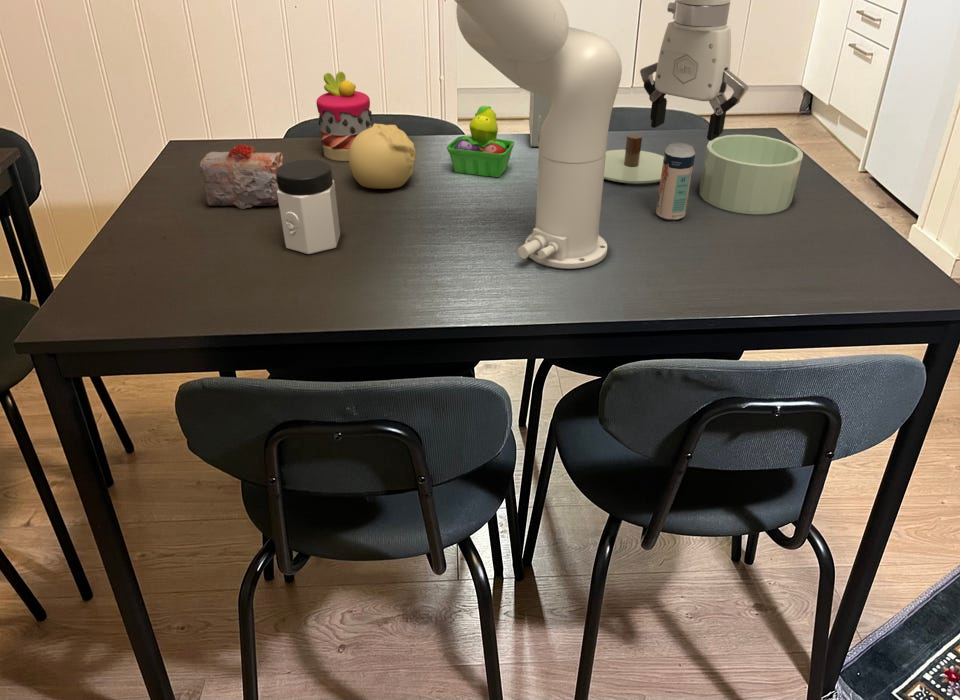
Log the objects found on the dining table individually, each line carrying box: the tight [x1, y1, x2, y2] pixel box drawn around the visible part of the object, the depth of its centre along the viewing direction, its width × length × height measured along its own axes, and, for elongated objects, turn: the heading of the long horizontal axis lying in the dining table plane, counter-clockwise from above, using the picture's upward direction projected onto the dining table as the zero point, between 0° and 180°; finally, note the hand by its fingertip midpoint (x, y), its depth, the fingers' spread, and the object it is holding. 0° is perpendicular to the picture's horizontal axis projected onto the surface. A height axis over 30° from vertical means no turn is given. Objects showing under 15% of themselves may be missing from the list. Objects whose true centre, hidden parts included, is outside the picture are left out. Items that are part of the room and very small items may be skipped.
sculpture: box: [348, 123, 417, 190], centre depth 136 cm, size 12×12×11 cm
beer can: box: [655, 141, 696, 221], centre depth 123 cm, size 5×5×12 cm
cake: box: [315, 71, 373, 162], centre depth 148 cm, size 10×10×15 cm
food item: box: [199, 143, 284, 210], centre depth 129 cm, size 14×8×10 cm, turn 91°
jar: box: [276, 159, 341, 255], centre depth 115 cm, size 9×8×12 cm
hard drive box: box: [528, 92, 552, 147], centre depth 155 cm, size 16×8×20 cm, turn 179°
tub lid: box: [604, 133, 664, 185], centre depth 142 cm, size 17×17×7 cm
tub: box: [698, 134, 804, 215], centre depth 131 cm, size 16×16×8 cm
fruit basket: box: [446, 105, 515, 178], centre depth 141 cm, size 11×9×11 cm
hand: (684, 131), depth 119 cm, fingers open, 9 cm apart
